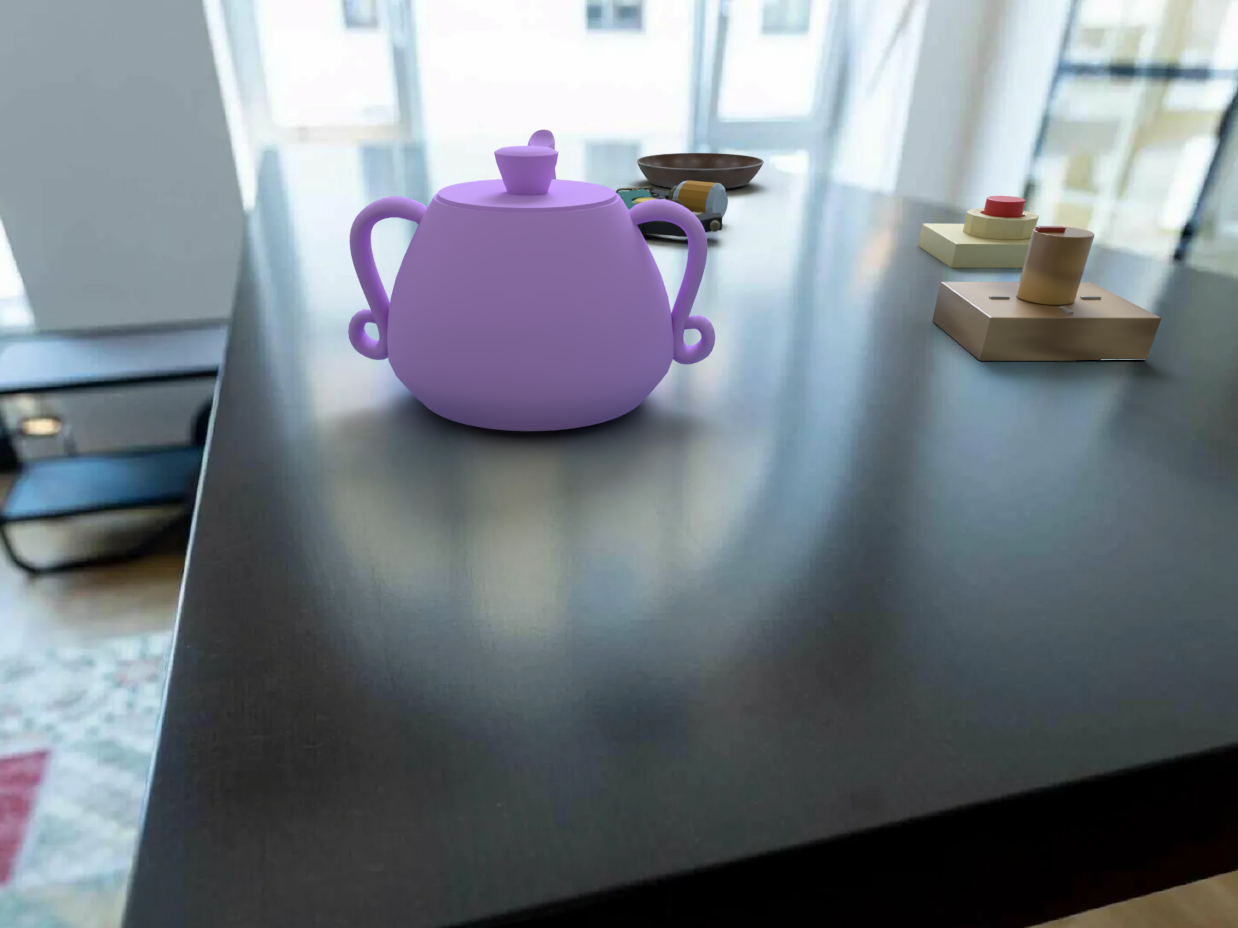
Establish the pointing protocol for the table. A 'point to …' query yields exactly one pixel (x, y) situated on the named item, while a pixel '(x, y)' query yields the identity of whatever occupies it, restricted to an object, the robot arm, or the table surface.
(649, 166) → the plant saucer
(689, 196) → the spray gun
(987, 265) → the button box
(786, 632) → the table surface
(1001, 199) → the button
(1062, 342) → the panel
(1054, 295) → the dial knob
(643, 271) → the purple sugar bowl
